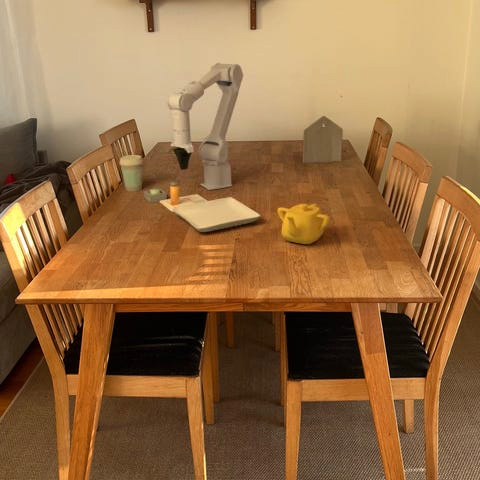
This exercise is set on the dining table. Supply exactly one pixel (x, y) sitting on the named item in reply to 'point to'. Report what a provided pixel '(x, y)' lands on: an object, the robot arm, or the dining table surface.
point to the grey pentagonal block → (322, 142)
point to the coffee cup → (132, 172)
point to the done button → (154, 191)
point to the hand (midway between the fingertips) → (183, 169)
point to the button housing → (155, 196)
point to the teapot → (303, 223)
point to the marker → (174, 193)
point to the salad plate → (216, 214)
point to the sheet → (183, 201)
